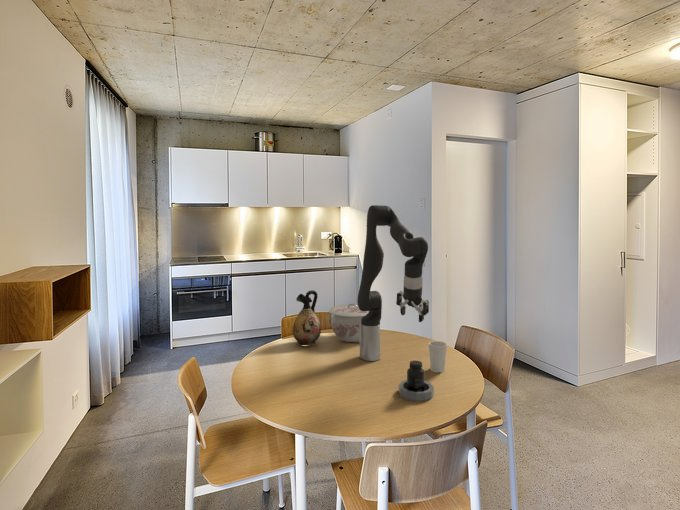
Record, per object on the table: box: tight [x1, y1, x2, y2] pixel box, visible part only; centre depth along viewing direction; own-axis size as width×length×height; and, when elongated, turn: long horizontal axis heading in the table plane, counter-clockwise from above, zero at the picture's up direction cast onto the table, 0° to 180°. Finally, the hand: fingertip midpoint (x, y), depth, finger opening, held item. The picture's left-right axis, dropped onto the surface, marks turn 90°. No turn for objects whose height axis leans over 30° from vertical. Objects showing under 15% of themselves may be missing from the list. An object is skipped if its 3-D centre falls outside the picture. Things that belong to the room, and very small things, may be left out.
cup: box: [428, 340, 448, 373], centre depth 177 cm, size 8×8×12 cm
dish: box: [398, 379, 435, 402], centre depth 153 cm, size 13×13×3 cm
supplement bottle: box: [406, 360, 426, 392], centre depth 153 cm, size 7×7×12 cm
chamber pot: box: [328, 303, 369, 343], centre depth 224 cm, size 28×28×21 cm
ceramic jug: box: [292, 289, 322, 346], centre depth 215 cm, size 17×15×30 cm
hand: (411, 317), depth 166 cm, fingers open, 8 cm apart
